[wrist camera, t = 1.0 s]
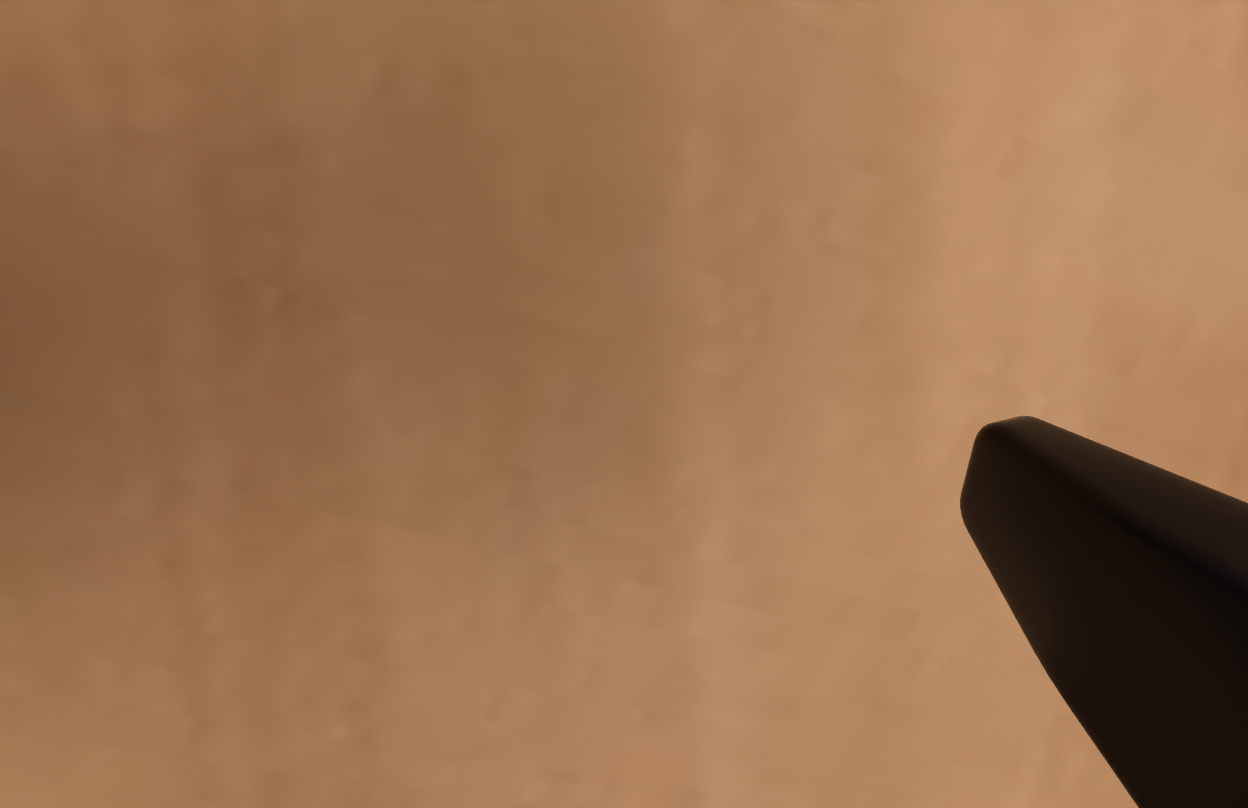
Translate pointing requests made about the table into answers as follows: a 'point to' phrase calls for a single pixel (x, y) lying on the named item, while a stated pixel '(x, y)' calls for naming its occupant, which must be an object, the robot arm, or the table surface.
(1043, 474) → the robot arm
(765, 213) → the table surface
